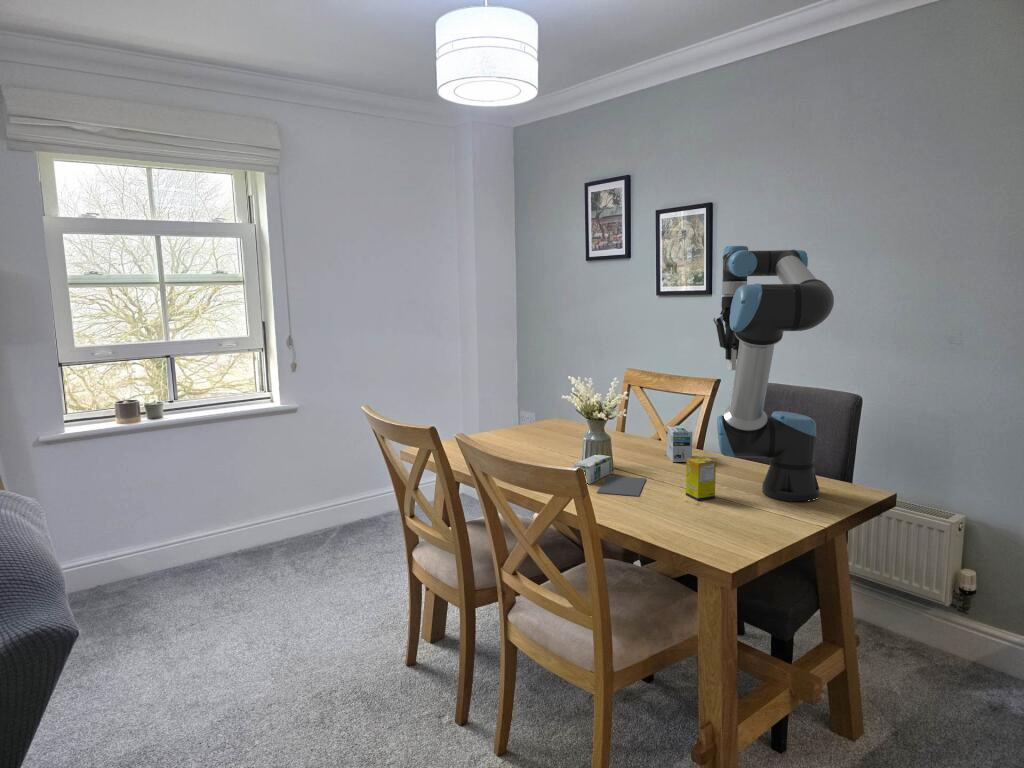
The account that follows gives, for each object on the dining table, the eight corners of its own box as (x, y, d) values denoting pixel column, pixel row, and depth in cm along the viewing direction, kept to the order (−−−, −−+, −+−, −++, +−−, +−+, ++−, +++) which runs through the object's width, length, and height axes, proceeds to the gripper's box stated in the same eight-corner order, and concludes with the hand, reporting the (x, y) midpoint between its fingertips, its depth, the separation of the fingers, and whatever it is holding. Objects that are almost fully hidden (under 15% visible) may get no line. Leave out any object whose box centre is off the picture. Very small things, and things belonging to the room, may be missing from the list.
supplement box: (702, 492, 196) (703, 455, 195) (715, 498, 191) (716, 460, 189) (684, 495, 194) (685, 458, 193) (697, 501, 189) (698, 463, 187)
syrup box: (611, 473, 217) (589, 484, 205) (595, 470, 220) (572, 481, 208) (612, 456, 216) (590, 466, 204) (595, 453, 219) (573, 463, 207)
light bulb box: (692, 463, 228) (693, 431, 227) (672, 463, 229) (672, 431, 227) (684, 455, 239) (685, 425, 237) (665, 455, 239) (666, 425, 238)
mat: (607, 476, 214) (607, 475, 213) (646, 479, 210) (646, 478, 210) (596, 493, 197) (596, 492, 197) (638, 496, 193) (638, 495, 193)
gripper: (745, 295, 220) (743, 367, 223) (709, 295, 217) (707, 369, 220) (759, 295, 212) (756, 370, 216) (721, 296, 209) (719, 371, 213)
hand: (731, 369), depth 218 cm, fingers closed
